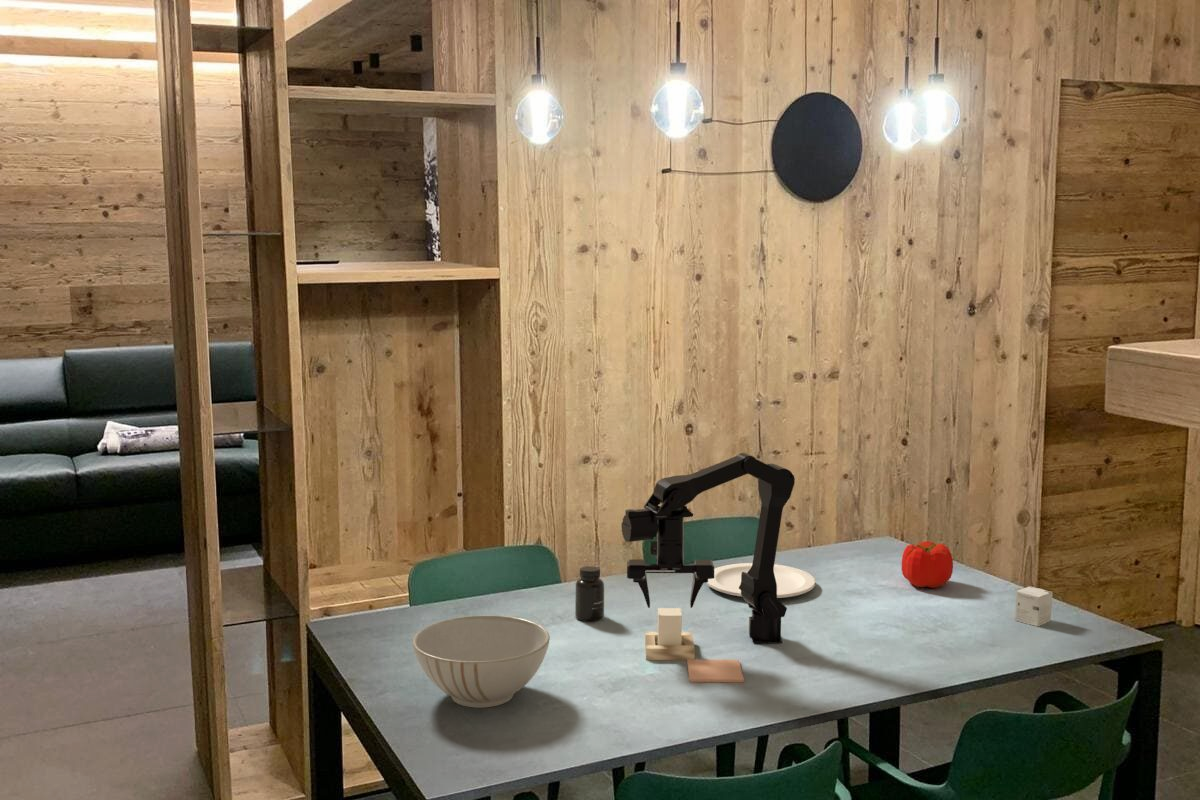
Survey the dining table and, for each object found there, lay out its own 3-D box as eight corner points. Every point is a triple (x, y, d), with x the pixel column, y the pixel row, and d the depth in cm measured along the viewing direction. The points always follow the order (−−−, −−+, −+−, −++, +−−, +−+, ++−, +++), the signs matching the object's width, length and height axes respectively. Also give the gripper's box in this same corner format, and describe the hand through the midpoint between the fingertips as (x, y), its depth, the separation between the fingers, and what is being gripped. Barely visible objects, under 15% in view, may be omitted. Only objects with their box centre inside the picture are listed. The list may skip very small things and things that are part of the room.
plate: (823, 604, 293) (823, 595, 292) (709, 604, 293) (709, 595, 293) (805, 571, 321) (805, 562, 320) (701, 571, 321) (701, 562, 321)
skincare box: (1014, 620, 280) (1015, 590, 279) (1027, 615, 284) (1029, 585, 283) (1038, 627, 276) (1039, 596, 275) (1051, 621, 280) (1053, 591, 279)
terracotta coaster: (738, 662, 254) (738, 659, 254) (743, 682, 243) (743, 679, 243) (686, 662, 254) (687, 659, 254) (689, 682, 243) (689, 679, 243)
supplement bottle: (601, 623, 279) (600, 573, 277) (572, 621, 280) (572, 572, 278) (606, 613, 286) (606, 565, 284) (578, 612, 287) (578, 563, 285)
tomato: (918, 573, 317) (919, 535, 316) (962, 584, 308) (964, 545, 306) (888, 584, 308) (890, 544, 307) (933, 596, 299) (935, 555, 297)
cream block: (680, 647, 263) (680, 608, 262) (681, 655, 258) (681, 615, 257) (657, 647, 263) (657, 608, 262) (658, 655, 258) (658, 615, 257)
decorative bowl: (435, 733, 219) (434, 670, 218) (399, 682, 244) (397, 625, 242) (570, 709, 230) (570, 649, 228) (523, 662, 254) (522, 608, 252)
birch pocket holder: (691, 642, 266) (691, 632, 266) (694, 660, 256) (694, 648, 255) (645, 642, 266) (645, 631, 266) (646, 659, 256) (646, 648, 255)
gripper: (711, 527, 265) (710, 595, 267) (626, 527, 265) (627, 595, 268) (714, 541, 254) (714, 611, 256) (627, 541, 254) (627, 611, 257)
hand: (670, 607), depth 259 cm, fingers open, 9 cm apart
